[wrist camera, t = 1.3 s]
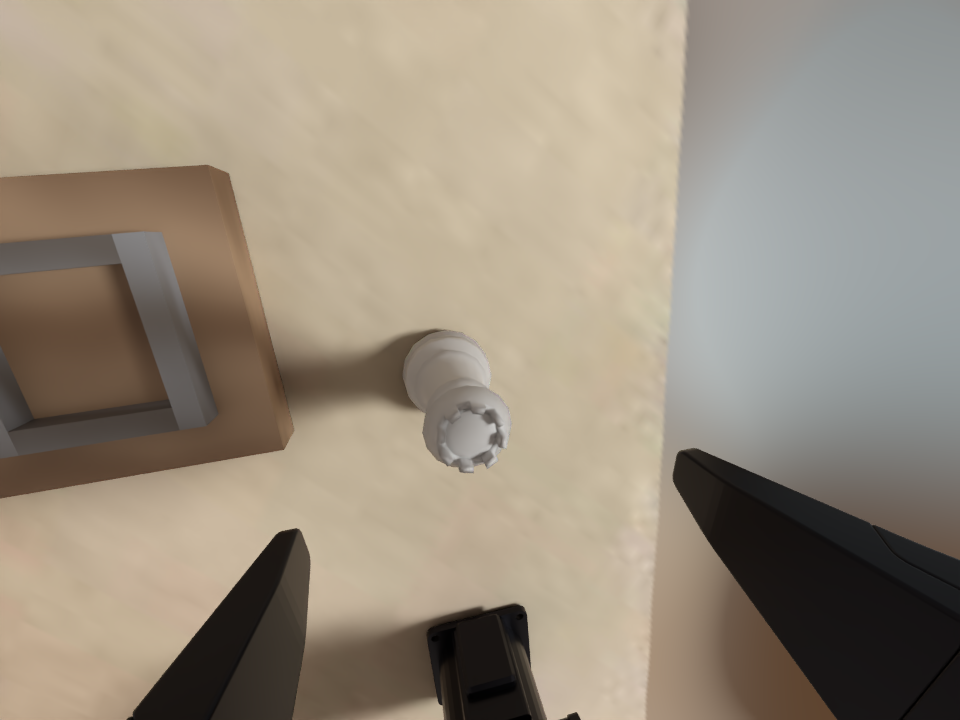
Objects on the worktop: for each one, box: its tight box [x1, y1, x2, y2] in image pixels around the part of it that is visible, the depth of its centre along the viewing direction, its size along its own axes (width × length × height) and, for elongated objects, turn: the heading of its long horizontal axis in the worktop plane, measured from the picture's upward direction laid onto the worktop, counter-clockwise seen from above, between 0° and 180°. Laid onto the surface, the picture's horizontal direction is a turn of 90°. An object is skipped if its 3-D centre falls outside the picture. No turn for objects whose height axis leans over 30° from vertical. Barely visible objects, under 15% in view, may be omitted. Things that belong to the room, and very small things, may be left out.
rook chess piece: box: [402, 330, 512, 473], centre depth 17 cm, size 4×4×8 cm
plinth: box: [0, 165, 294, 498], centre depth 16 cm, size 12×12×3 cm
